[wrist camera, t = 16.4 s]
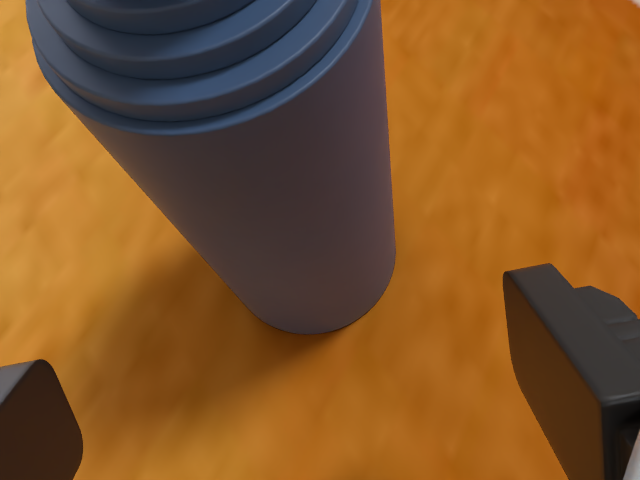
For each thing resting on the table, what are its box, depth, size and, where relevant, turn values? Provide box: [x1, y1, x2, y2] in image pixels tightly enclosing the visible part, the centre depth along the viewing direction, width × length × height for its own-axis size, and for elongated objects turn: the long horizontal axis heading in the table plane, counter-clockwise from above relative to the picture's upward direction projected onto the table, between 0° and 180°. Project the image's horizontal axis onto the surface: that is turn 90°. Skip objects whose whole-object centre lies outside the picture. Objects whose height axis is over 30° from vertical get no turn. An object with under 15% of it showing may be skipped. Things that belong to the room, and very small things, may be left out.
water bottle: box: [26, 0, 396, 334], centre depth 14 cm, size 6×6×18 cm
